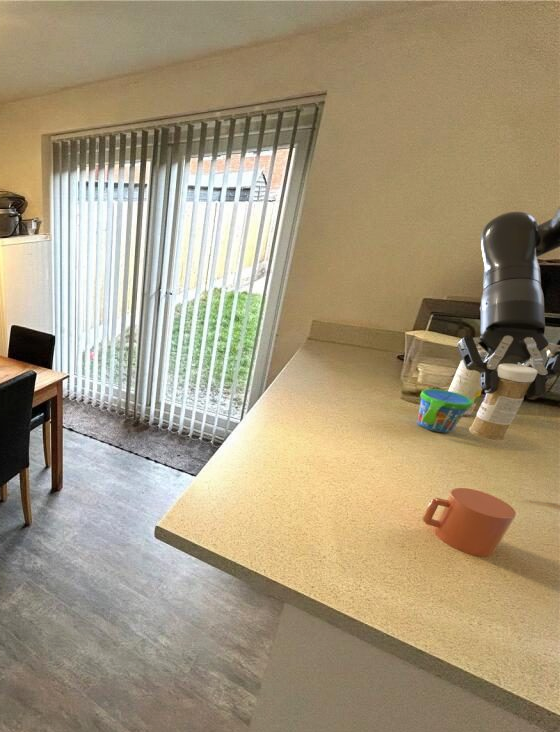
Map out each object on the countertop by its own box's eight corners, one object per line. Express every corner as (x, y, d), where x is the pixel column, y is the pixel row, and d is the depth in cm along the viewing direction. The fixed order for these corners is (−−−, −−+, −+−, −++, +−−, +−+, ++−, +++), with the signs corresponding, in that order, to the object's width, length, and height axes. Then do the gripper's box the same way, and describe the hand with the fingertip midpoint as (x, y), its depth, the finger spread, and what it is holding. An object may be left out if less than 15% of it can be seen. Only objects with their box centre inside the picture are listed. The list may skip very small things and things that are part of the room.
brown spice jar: (465, 426, 75) (495, 360, 70) (500, 433, 72) (533, 365, 67) (471, 437, 71) (502, 368, 66) (507, 444, 69) (543, 373, 64)
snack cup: (426, 414, 122) (438, 384, 118) (470, 429, 113) (485, 397, 109) (397, 425, 116) (408, 394, 112) (441, 442, 107) (456, 409, 103)
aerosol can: (470, 418, 119) (499, 356, 111) (439, 411, 123) (465, 351, 116) (471, 411, 123) (499, 351, 115) (442, 404, 128) (466, 346, 120)
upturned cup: (483, 532, 77) (503, 496, 74) (502, 563, 71) (525, 524, 67) (413, 514, 82) (428, 479, 79) (424, 541, 75) (442, 504, 72)
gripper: (468, 295, 72) (467, 379, 67) (586, 301, 65) (593, 394, 60) (448, 317, 78) (445, 395, 73) (553, 324, 71) (557, 410, 67)
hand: (512, 394), depth 67 cm, fingers closed on brown spice jar, 4 cm apart
